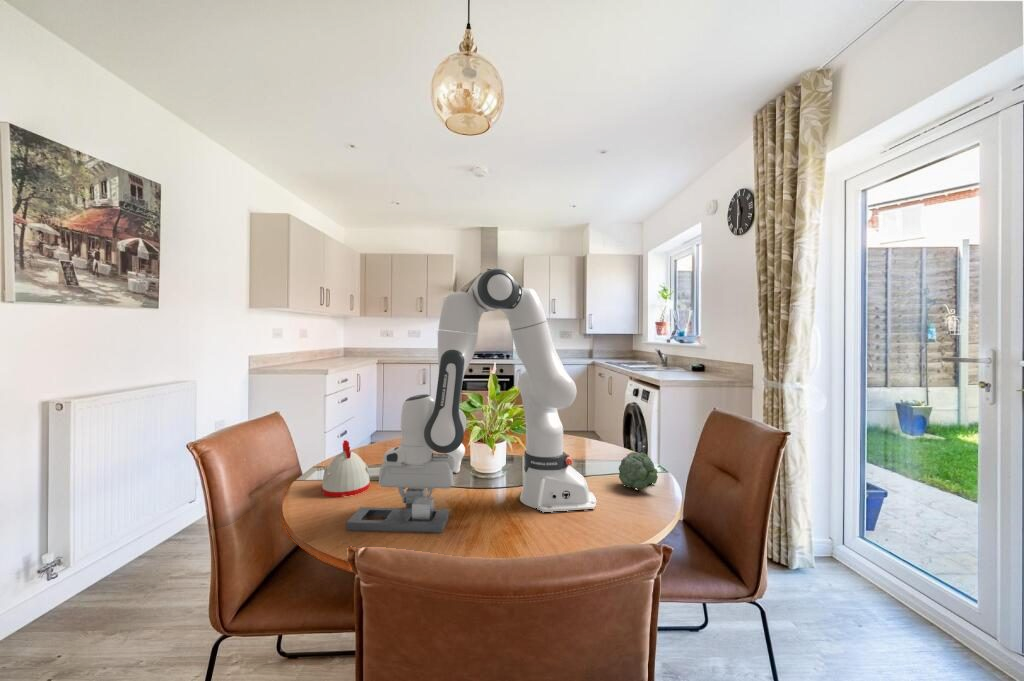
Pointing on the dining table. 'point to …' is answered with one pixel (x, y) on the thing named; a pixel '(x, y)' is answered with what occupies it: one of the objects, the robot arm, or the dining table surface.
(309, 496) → the dining table surface
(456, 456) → the lightbulb
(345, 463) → the chicken hat
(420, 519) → the light gray block
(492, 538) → the dining table surface
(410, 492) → the grey rectangular block
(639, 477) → the vegetable
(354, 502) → the dining table surface
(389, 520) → the grey slotted board
